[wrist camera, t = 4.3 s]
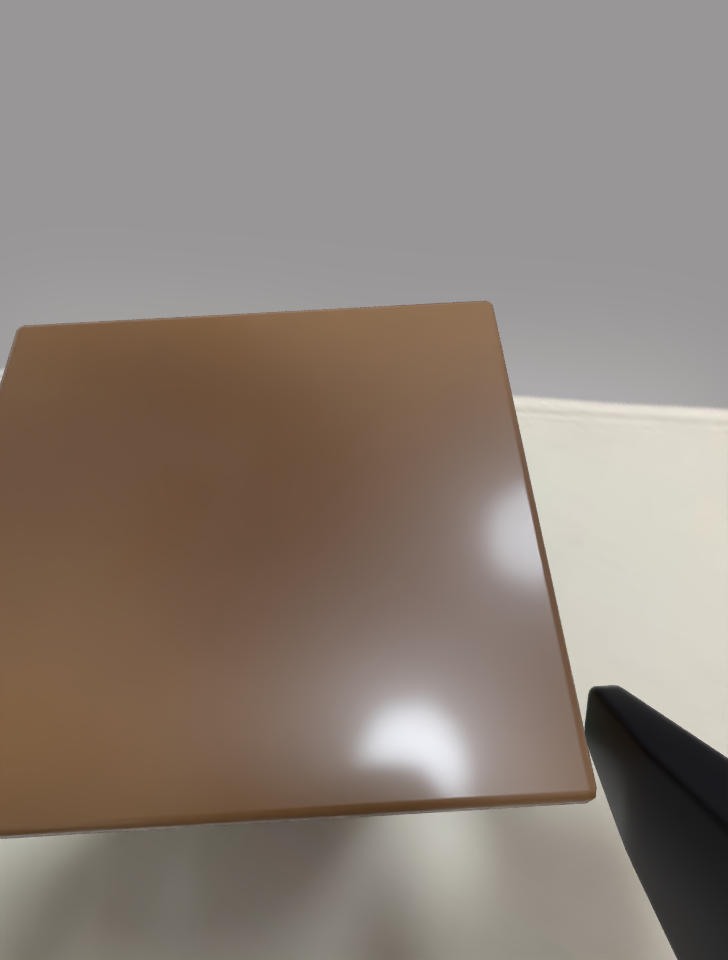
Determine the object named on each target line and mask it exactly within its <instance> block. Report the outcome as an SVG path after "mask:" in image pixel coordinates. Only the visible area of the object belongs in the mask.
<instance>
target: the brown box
mask: <svg viewBox="0 0 728 960" xmlns="http://www.w3.org/2000/svg"><path fill="white" fill-rule="evenodd" d="M595 797H596V783H595V778H594V773H593V769H592V764H591V760H590V755H589V750H588V746H587V741H586V736H585V732H584V727H583V722H582V718H581V713H580V708H579V704H578V699H577V694H576V690H575V685H574V680H573V676H572V671H571V667H570V662H569V657H568V653H567V648H566V643H565V639H564V634H563V629H562V625H561V620H560V615H559V611H558V606H557V601H556V597H555V592H554V588H553V583H552V578H551V574H550V569H549V564H548V560H547V555H546V550H545V546H544V541H543V536H542V532H541V527H540V522H539V518H538V513H537V509H536V504H535V499H534V495H533V490H532V485H531V481H530V476H529V471H528V467H527V462H526V457H525V453H524V448H523V443H522V439H521V434H520V430H519V425H518V420H517V416H516V411H515V406H514V402H513V397H512V392H511V388H510V383H509V379H508V374H507V369H506V364H505V360H504V355H503V351H502V346H501V341H500V337H499V332H498V328H497V323H496V318H495V313H494V309H493V305H492V304H491V303H490V302H488V301H472V302H456V303H455V302H453V303H435V304H416V305H397V306H379V307H360V308H341V309H323V310H304V311H285V312H267V313H249V314H230V315H212V316H192V317H175V318H156V319H137V320H118V321H100V322H80V323H62V324H44V325H26V326H25V325H24V326H22V327H20V328H19V329H18V330H17V331H16V335H15V338H14V341H13V344H12V347H11V351H10V354H9V357H8V360H7V364H6V367H5V370H4V373H3V377H2V380H1V383H0V839H7V838H23V837H39V836H56V835H72V834H89V833H105V832H122V831H138V830H154V829H171V828H187V827H204V826H220V825H237V824H253V823H270V822H286V821H302V820H319V819H335V818H352V817H368V816H385V815H401V814H417V813H434V812H450V811H467V810H483V809H500V808H516V807H533V806H549V805H565V804H582V803H588V802H589V801H591V800H593V799H594V798H595Z"/></svg>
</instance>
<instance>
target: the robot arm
mask: <svg viewBox="0 0 728 960" xmlns="http://www.w3.org/2000/svg"><path fill="white" fill-rule="evenodd" d="M585 736H586V741H587V745H588V748H589V751H590V754H591V757H592V759H593V762H594V765H595V768H596V770H597V773H598V776H599V779H600V781H601V784H602V787H603V790H604V792H605V795H606V798H607V801H608V803H609V806H610V809H611V812H612V814H613V817H614V820H615V823H616V825H617V828H618V831H619V834H620V836H621V839H622V841H623V844H624V846H625V849H626V851H627V853H628V856H629V858H630V860H631V862H632V865H633V867H634V869H635V871H636V873H637V875H638V877H639V880H640V882H641V884H642V886H643V888H644V890H645V892H646V894H647V896H648V899H649V901H650V903H651V905H652V907H653V909H654V911H655V913H656V915H657V918H658V920H659V922H660V924H661V926H662V928H663V930H664V932H665V934H666V937H667V939H668V941H669V943H670V945H671V947H672V949H673V951H674V953H675V956H676V958H677V960H728V758H727V757H725V756H724V755H722V754H721V753H719V752H718V751H716V750H715V749H713V748H712V747H710V746H709V745H707V744H706V743H704V742H703V741H701V740H700V739H698V738H697V737H695V736H694V735H692V734H691V733H689V732H688V731H686V730H685V729H683V728H682V727H680V726H679V725H677V724H676V723H674V722H673V721H671V720H670V719H668V718H667V717H665V716H664V715H662V714H661V713H659V712H658V711H656V710H655V709H653V708H652V707H650V706H649V705H647V704H646V703H644V702H643V701H641V700H640V699H638V698H637V697H635V696H634V695H632V694H631V693H629V692H628V691H626V690H625V689H623V688H621V687H619V686H616V685H609V686H595V687H592V688H591V689H590V691H589V694H588V702H587V710H586V719H585Z"/></svg>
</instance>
